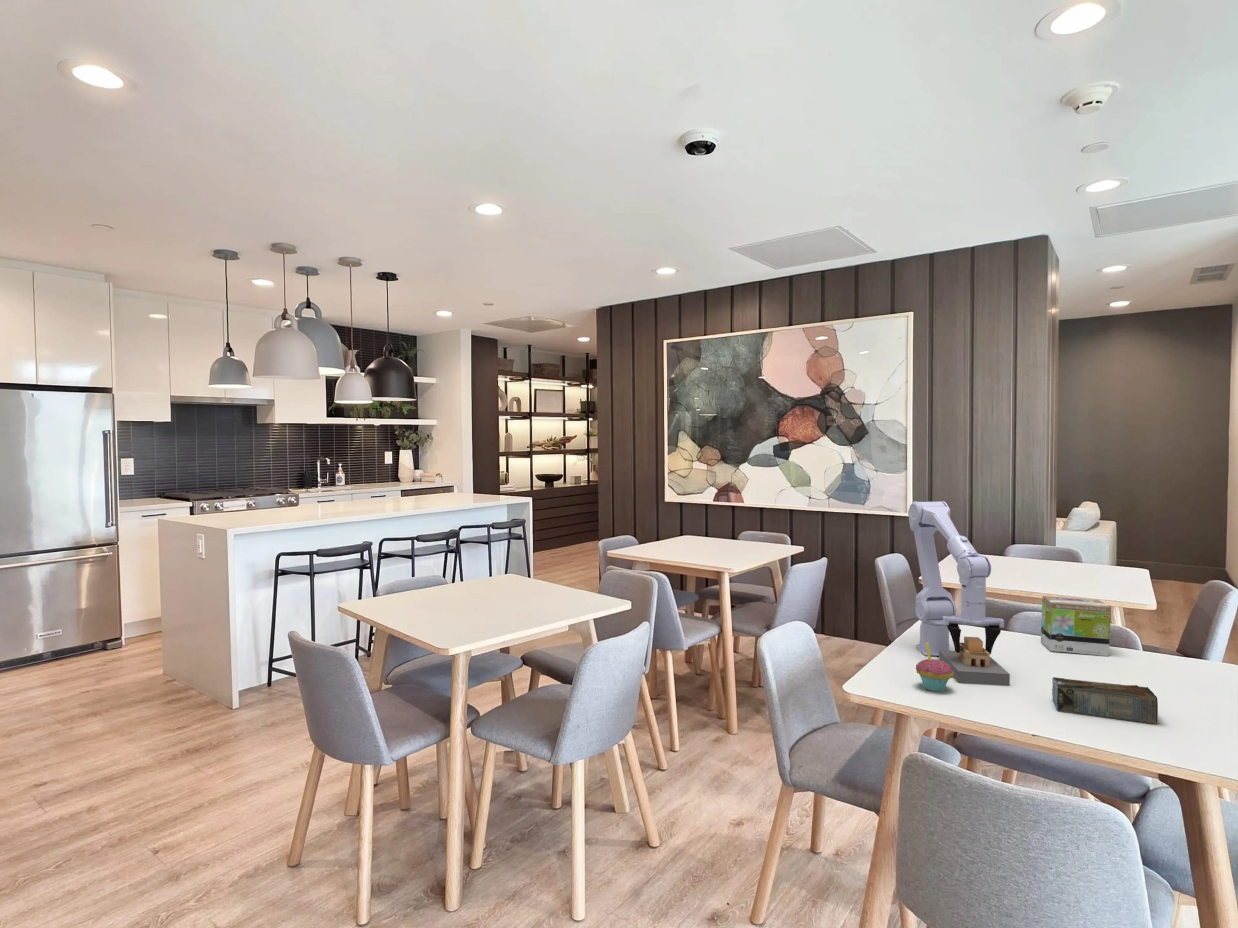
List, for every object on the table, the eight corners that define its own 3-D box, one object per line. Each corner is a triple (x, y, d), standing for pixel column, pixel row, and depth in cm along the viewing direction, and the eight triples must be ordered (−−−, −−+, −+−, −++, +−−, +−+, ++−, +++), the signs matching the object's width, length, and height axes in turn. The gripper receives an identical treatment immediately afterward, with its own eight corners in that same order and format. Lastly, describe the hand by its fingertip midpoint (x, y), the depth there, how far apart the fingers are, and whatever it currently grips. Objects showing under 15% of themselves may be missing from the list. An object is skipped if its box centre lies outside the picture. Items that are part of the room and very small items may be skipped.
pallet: (956, 655, 188) (956, 642, 188) (977, 656, 187) (978, 643, 187) (967, 666, 179) (967, 652, 179) (989, 667, 178) (989, 653, 178)
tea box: (1050, 652, 201) (1051, 602, 200) (1040, 642, 210) (1041, 594, 210) (1110, 657, 196) (1111, 605, 196) (1097, 647, 206) (1098, 597, 205)
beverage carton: (1050, 700, 164) (1051, 672, 164) (1149, 713, 156) (1150, 684, 156) (1056, 712, 157) (1056, 683, 157) (1160, 726, 149) (1160, 696, 149)
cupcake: (914, 690, 170) (914, 642, 170) (917, 680, 178) (917, 633, 177) (952, 696, 166) (953, 647, 166) (954, 685, 174) (954, 638, 173)
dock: (939, 660, 193) (939, 650, 193) (985, 663, 191) (985, 652, 191) (958, 682, 176) (958, 671, 175) (1009, 685, 173) (1009, 673, 173)
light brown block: (963, 647, 186) (964, 636, 185) (977, 648, 185) (978, 637, 185) (968, 651, 182) (968, 640, 182) (982, 652, 181) (983, 641, 181)
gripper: (948, 603, 180) (947, 655, 181) (1008, 606, 177) (1007, 658, 178) (940, 597, 187) (940, 647, 187) (998, 600, 184) (998, 650, 185)
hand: (972, 652), depth 183 cm, fingers open, 7 cm apart
